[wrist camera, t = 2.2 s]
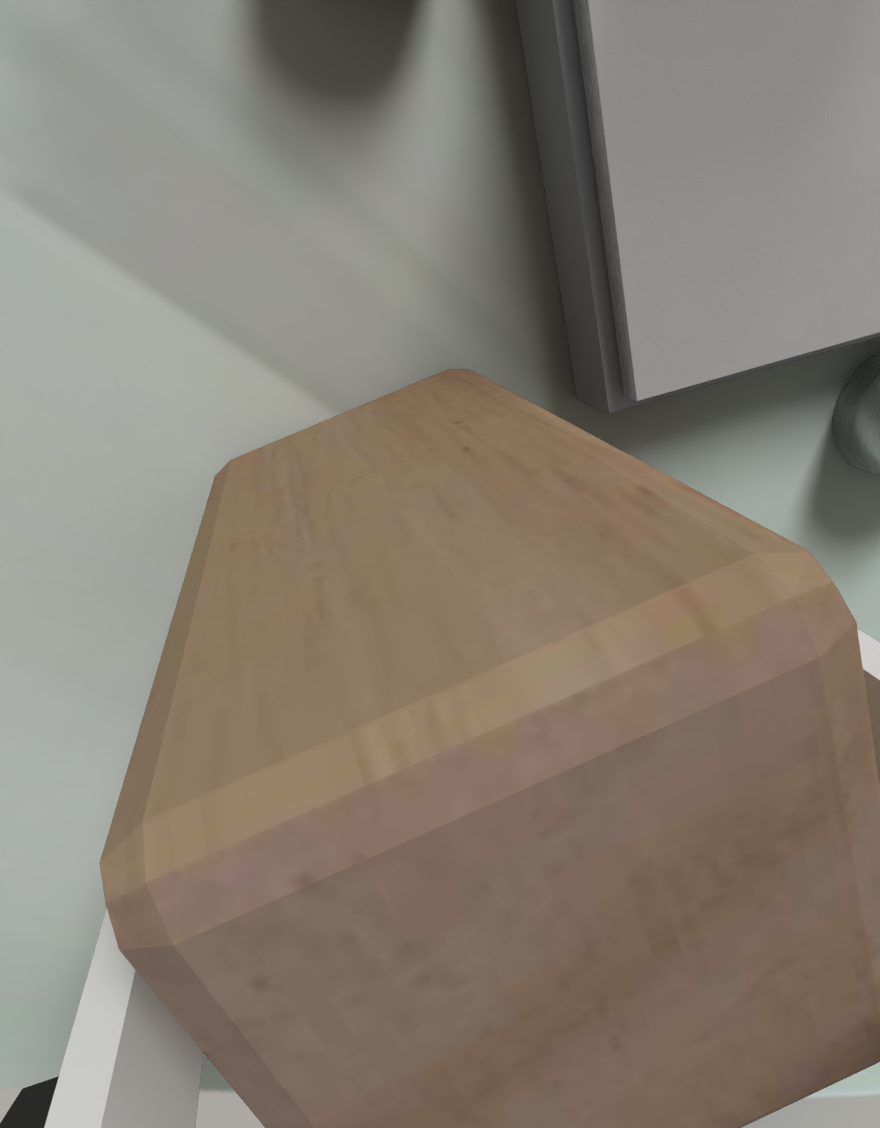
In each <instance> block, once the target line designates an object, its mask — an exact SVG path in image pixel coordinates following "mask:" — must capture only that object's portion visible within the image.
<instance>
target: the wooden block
mask: <svg viewBox="0 0 880 1128" xmlns="http://www.w3.org/2000/svg"><path fill="white" fill-rule="evenodd" d="M100 868H101V875H102V882H103V889H104V896H105V903H106V906H107V910H108V914H109V917H110V921H111V924H112V927H113V931H114V934H115V937H116V941H117V944H118V948H119V950H120V951H121V953H122V954H123V955H124V956H125V958H126V959H127V960H128V961H129V962H130V964H131V965H132V966H133V967H134V968H135V970H136V971H137V972H138V973H139V975H140V976H141V977H142V978H143V979H144V981H145V982H146V983H147V984H148V986H149V987H150V988H151V989H152V990H153V992H154V993H155V994H156V995H157V996H158V998H159V999H160V1000H161V1001H162V1003H163V1004H164V1005H165V1006H166V1007H167V1009H168V1010H169V1011H170V1012H171V1014H172V1015H173V1016H174V1017H175V1018H176V1020H177V1021H178V1022H179V1023H180V1024H181V1026H182V1027H183V1028H184V1029H185V1031H186V1032H187V1033H188V1034H189V1035H190V1037H191V1038H192V1039H193V1040H194V1041H195V1043H196V1044H197V1045H198V1046H199V1048H200V1049H201V1050H202V1051H203V1052H204V1054H205V1055H206V1056H207V1057H208V1059H209V1060H210V1061H211V1062H212V1063H213V1065H214V1066H215V1067H216V1068H217V1069H218V1071H219V1072H220V1073H221V1074H222V1076H223V1077H224V1078H225V1079H226V1080H227V1082H228V1083H229V1084H230V1085H231V1087H232V1088H233V1089H234V1090H235V1091H236V1093H237V1094H238V1095H239V1096H240V1097H241V1099H242V1100H243V1101H244V1102H245V1104H246V1105H247V1106H248V1107H249V1108H250V1110H251V1111H252V1112H253V1113H254V1115H255V1116H256V1117H257V1118H258V1119H259V1121H260V1122H261V1123H262V1124H263V1125H264V1127H265V1128H741V1127H743V1126H745V1125H747V1124H750V1123H752V1122H754V1121H756V1120H758V1119H760V1118H762V1117H764V1116H767V1115H768V1114H771V1113H773V1112H775V1111H777V1110H779V1109H781V1108H783V1107H785V1106H788V1105H790V1104H792V1103H794V1102H796V1101H798V1100H800V1099H802V1098H805V1097H807V1096H809V1095H811V1094H813V1093H815V1092H817V1091H819V1090H821V1089H824V1088H826V1087H828V1086H830V1085H832V1084H834V1083H836V1082H838V1081H840V1080H843V1079H845V1078H847V1077H849V1076H851V1075H853V1074H855V1073H857V1072H860V1071H862V1070H864V1069H866V1068H868V1067H870V1066H872V1065H874V1064H876V1063H878V1062H880V787H879V780H878V773H877V766H876V759H875V751H874V744H873V737H872V730H871V723H870V716H869V709H868V702H867V695H866V688H865V681H864V674H863V666H862V659H861V652H860V645H859V638H858V631H857V624H856V621H855V619H854V617H853V616H852V614H851V612H850V610H849V608H848V607H847V605H846V603H845V601H844V599H843V598H842V596H841V594H840V592H839V590H838V589H837V588H836V586H835V585H834V583H833V581H832V580H831V579H830V577H829V576H828V575H827V574H826V572H825V571H824V570H823V568H822V567H821V566H820V564H819V563H818V562H817V560H816V559H815V558H814V556H813V555H812V554H811V553H810V551H808V550H806V549H804V548H802V547H801V546H799V545H797V544H795V543H793V542H791V541H789V540H787V539H786V538H784V537H782V536H780V535H778V534H776V533H774V532H773V531H771V530H769V529H767V528H765V527H763V526H761V525H759V524H758V523H756V522H754V521H752V520H750V519H748V518H746V517H745V516H743V515H741V514H739V513H737V512H735V511H733V510H731V509H730V508H728V507H726V506H724V505H722V504H720V503H718V502H717V501H715V500H713V499H711V498H709V497H707V496H705V495H703V494H702V493H700V492H698V491H696V490H694V489H692V488H690V487H688V486H687V485H685V484H683V483H681V482H679V481H677V480H675V479H674V478H672V477H670V476H668V475H666V474H664V473H662V472H660V471H659V470H657V469H655V468H653V467H651V466H649V465H647V464H646V463H644V462H642V461H640V460H638V459H636V458H634V457H632V456H631V455H629V454H627V453H625V452H623V451H621V450H619V449H618V448H616V447H614V446H612V445H610V444H608V443H606V442H604V441H603V440H601V439H599V438H597V437H595V436H593V435H591V434H590V433H588V432H586V431H584V430H582V429H580V428H578V427H576V426H575V425H573V424H571V423H569V422H567V421H565V420H563V419H562V418H560V417H558V416H556V415H554V414H552V413H550V412H548V411H547V410H545V409H543V408H541V407H539V406H537V405H535V404H533V403H532V402H530V401H528V400H526V399H524V398H522V397H520V396H519V395H517V394H515V393H513V392H511V391H509V390H507V389H505V388H504V387H502V386H500V385H498V384H496V383H494V382H492V381H491V380H489V379H487V378H485V377H483V376H481V375H479V374H477V373H476V372H474V371H472V370H465V369H448V370H445V371H443V372H441V373H438V374H436V375H434V376H431V377H429V378H426V379H424V380H422V381H419V382H417V383H414V384H412V385H410V386H407V387H405V388H402V389H400V390H398V391H395V392H393V393H390V394H388V395H386V396H383V397H381V398H378V399H376V400H374V401H371V402H369V403H366V404H364V405H362V406H359V407H357V408H354V409H352V410H350V411H347V412H345V413H342V414H340V415H338V416H335V417H333V418H330V419H328V420H326V421H323V422H321V423H319V424H316V425H314V426H311V427H309V428H307V429H304V430H302V431H299V432H297V433H295V434H292V435H290V436H287V437H285V438H283V439H280V440H278V441H275V442H273V443H271V444H268V445H266V446H263V447H261V448H259V449H256V450H254V451H251V452H249V453H247V454H244V455H242V456H239V457H237V458H235V459H232V460H230V461H229V462H228V463H227V464H226V465H225V466H224V467H223V468H222V470H221V471H220V472H219V473H218V474H217V475H216V476H215V478H214V481H213V485H212V488H211V491H210V495H209V498H208V501H207V505H206V508H205V511H204V515H203V518H202V522H201V525H200V528H199V532H198V535H197V538H196V542H195V545H194V548H193V552H192V555H191V558H190V562H189V565H188V568H187V572H186V575H185V579H184V582H183V585H182V589H181V592H180V595H179V599H178V602H177V605H176V609H175V612H174V615H173V619H172V622H171V625H170V629H169V632H168V635H167V639H166V642H165V646H164V649H163V652H162V656H161V659H160V662H159V666H158V669H157V672H156V676H155V679H154V682H153V686H152V689H151V692H150V696H149V699H148V703H147V706H146V709H145V713H144V716H143V719H142V723H141V726H140V729H139V733H138V736H137V739H136V743H135V746H134V749H133V753H132V756H131V759H130V763H129V766H128V770H127V773H126V776H125V780H124V783H123V786H122V790H121V793H120V796H119V800H118V803H117V806H116V810H115V813H114V816H113V820H112V823H111V827H110V830H109V833H108V837H107V840H106V843H105V847H104V850H103V853H102V857H101V860H100Z"/></svg>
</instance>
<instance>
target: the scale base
mask: <svg viewBox="0 0 880 1128" xmlns="http://www.w3.org/2000/svg"><path fill="white" fill-rule="evenodd" d="M515 4H516V10H517V16H518V23H519V29H520V36H521V42H522V49H523V55H524V62H525V68H526V75H527V81H528V87H529V94H530V100H531V107H532V113H533V120H534V126H535V133H536V139H537V146H538V152H539V158H540V165H541V171H542V178H543V184H544V191H545V197H546V204H547V210H548V216H549V223H550V229H551V236H552V242H553V249H554V255H555V262H556V268H557V275H558V281H559V287H560V294H561V300H562V307H563V313H564V320H565V326H566V333H567V339H568V346H569V352H570V358H571V365H572V371H573V378H574V384H575V391H576V397H577V399H578V400H580V401H582V402H584V403H587V404H589V405H591V406H593V407H596V408H598V409H600V410H602V411H605V412H607V413H609V414H610V413H613V412H617V411H620V410H624V409H627V408H631V407H634V406H638V405H642V404H645V403H649V402H652V401H656V400H659V399H663V398H666V397H670V396H673V395H677V394H680V393H684V392H687V391H691V390H694V389H698V388H701V387H705V386H708V385H712V384H715V383H719V382H722V381H726V380H729V379H733V378H736V377H740V376H743V375H747V374H750V373H754V372H757V371H761V370H764V369H768V368H771V367H775V366H779V365H782V364H786V363H789V362H793V361H796V360H800V359H803V358H807V357H810V356H814V355H817V354H821V353H824V352H828V351H831V350H835V349H838V348H842V347H845V346H849V345H852V344H856V343H859V342H863V341H866V340H870V339H873V338H877V337H880V332H878V333H875V334H871V335H868V336H864V337H861V338H857V339H854V340H850V341H847V342H843V343H840V344H836V345H833V346H829V347H826V348H822V349H819V350H815V351H812V352H808V353H805V354H801V355H798V356H794V357H790V358H787V359H783V360H780V361H776V362H773V363H769V364H766V365H762V366H759V367H755V368H752V369H748V370H745V371H741V372H738V373H734V374H731V375H727V376H724V377H720V378H717V379H713V380H709V381H706V382H702V383H699V384H695V385H692V386H688V387H685V388H681V389H678V390H674V391H671V392H667V393H664V394H660V395H657V396H653V397H650V398H646V399H643V400H639V401H636V400H633V399H630V398H628V397H625V396H624V393H623V386H622V378H621V370H620V362H619V355H618V347H617V339H616V331H615V324H614V316H613V308H612V300H611V292H610V285H609V277H608V269H607V261H606V254H605V246H604V238H603V230H602V223H601V215H600V207H599V199H598V192H597V184H596V176H595V168H594V161H593V153H592V145H591V137H590V129H589V122H588V114H587V106H586V98H585V91H584V83H583V75H582V67H581V60H580V52H579V44H578V36H577V29H576V21H575V13H574V5H573V0H515Z"/></svg>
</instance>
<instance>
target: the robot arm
mask: <svg viewBox="0 0 880 1128" xmlns="http://www.w3.org/2000/svg"><path fill="white" fill-rule="evenodd" d="M857 631H858V638H859V645H860V652H861V659H862V666H863V674H864V681H865V688H866V695H867V702H868V709H869V716H870V723H871V730H872V737H873V744H874V751H875V759H876V766H877V773H878V780H879V787H880V643H879V642H877V641H876V640H874V639H873V638H871V637H869V636H868V635H866V634H865V633H863V632H862V631H860V630H858V629H857ZM202 1061H203V1051H202V1050H201V1049H200V1048H199V1046H198V1045H197V1044H196V1043H195V1041H194V1040H193V1039H192V1038H191V1037H190V1035H189V1034H188V1033H187V1032H186V1031H185V1029H184V1028H183V1027H182V1026H181V1024H180V1023H179V1022H178V1021H177V1020H176V1018H175V1017H174V1016H173V1015H172V1014H171V1012H170V1011H169V1010H168V1009H167V1007H166V1006H165V1005H164V1004H163V1003H162V1001H161V1000H160V999H159V998H158V996H157V995H156V994H155V993H154V992H153V990H152V989H151V988H150V987H149V986H148V984H147V983H146V982H145V981H144V979H143V978H142V977H141V976H140V975H139V973H138V972H137V971H136V970H135V968H134V967H133V966H132V965H131V964H130V962H129V961H128V960H127V959H126V958H125V956H124V955H123V954H122V953H121V951H120V950H119V948H118V944H117V941H116V937H115V934H114V931H113V927H112V924H111V921H110V917H109V914H108V910H106V913H105V917H104V920H103V924H102V927H101V931H100V934H99V938H98V941H97V945H96V948H95V952H94V955H93V959H92V962H91V966H90V969H89V973H88V976H87V980H86V983H85V987H84V990H83V994H82V997H81V1001H80V1004H79V1008H78V1011H77V1015H76V1018H75V1022H74V1025H73V1029H72V1032H71V1036H70V1039H69V1043H68V1046H67V1050H66V1053H65V1057H64V1060H63V1064H62V1067H61V1071H60V1074H59V1077H56V1078H53V1079H50V1080H47V1081H44V1082H41V1083H38V1084H35V1085H32V1086H29V1087H26V1088H23V1089H22V1090H21V1092H20V1094H19V1095H18V1097H17V1098H16V1100H15V1101H14V1103H13V1104H12V1106H11V1108H10V1109H9V1111H8V1112H7V1114H6V1116H5V1117H4V1118H3V1120H2V1122H1V1123H0V1128H195V1125H196V1116H197V1107H198V1098H199V1089H200V1079H201V1070H202Z"/></svg>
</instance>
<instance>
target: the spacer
mask: <svg viewBox="0 0 880 1128" xmlns="http://www.w3.org/2000/svg"><path fill="white" fill-rule="evenodd" d="M832 428H833V437H834V441H835V444H836V447H837V449H838V451H839V453H840V454H841V455H842V457H843V458H844V459H845V460H846V461H847V462H849V463H850V464H852V465H853V466H855V467H858V468H860V469H863V470H866V471H869V472H872V473H875V474H878V475H880V353H879V354H877V355H875V356H873V357H871V358H870V359H868V360H867V361H866V362H864V363H863V364H862V365H861V366H860V367H859V368H858V369H857V370H856V371H855V372H854V373H853V374H852V375H851V377H850V378H849V379H848V381H847V382H846V384H845V385H844V387H843V389H842V391H841V393H840V395H839V397H838V400H837V402H836V406H835V409H834V415H833V425H832Z"/></svg>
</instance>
